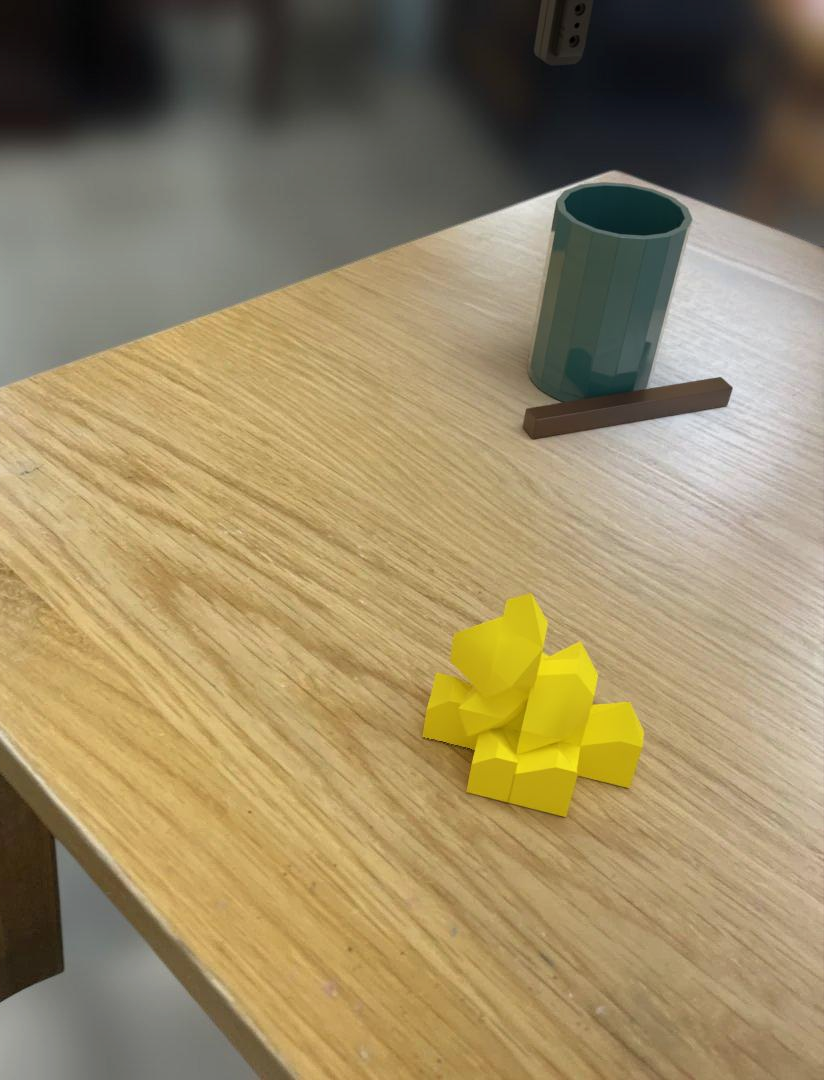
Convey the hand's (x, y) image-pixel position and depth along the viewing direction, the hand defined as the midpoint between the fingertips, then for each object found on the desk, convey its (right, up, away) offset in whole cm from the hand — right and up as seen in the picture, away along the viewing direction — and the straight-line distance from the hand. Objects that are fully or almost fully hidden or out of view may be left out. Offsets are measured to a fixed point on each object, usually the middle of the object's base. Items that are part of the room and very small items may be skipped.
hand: (556, 59), depth 67 cm
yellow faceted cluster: (-5, -34, -19) cm, 40 cm away
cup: (+2, -17, +3) cm, 17 cm away
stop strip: (+4, -19, 0) cm, 20 cm away
